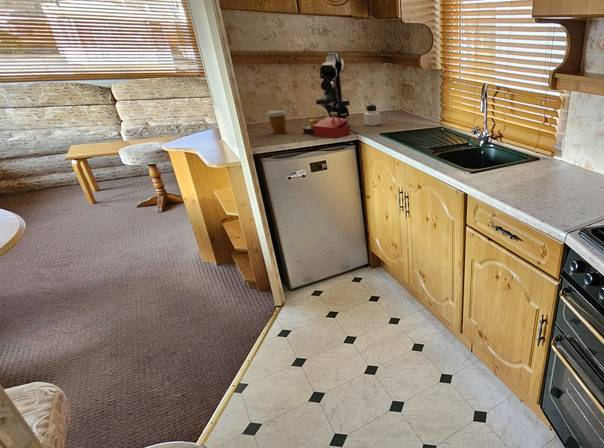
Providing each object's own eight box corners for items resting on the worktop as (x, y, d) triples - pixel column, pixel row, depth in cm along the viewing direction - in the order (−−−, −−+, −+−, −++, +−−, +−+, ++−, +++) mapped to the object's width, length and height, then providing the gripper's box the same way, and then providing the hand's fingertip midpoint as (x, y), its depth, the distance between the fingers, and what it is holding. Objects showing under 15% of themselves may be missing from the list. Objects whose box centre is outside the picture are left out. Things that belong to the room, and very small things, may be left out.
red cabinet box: (329, 131, 236) (327, 123, 234) (350, 133, 231) (348, 125, 229) (314, 135, 225) (312, 127, 223) (335, 138, 221) (334, 129, 219)
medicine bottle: (381, 124, 257) (379, 104, 252) (372, 126, 251) (370, 106, 246) (372, 122, 260) (371, 103, 255) (364, 124, 255) (362, 105, 250)
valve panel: (314, 130, 239) (314, 124, 237) (326, 131, 236) (326, 125, 235) (302, 133, 230) (301, 127, 229) (314, 134, 228) (314, 129, 226)
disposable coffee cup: (292, 131, 235) (288, 110, 230) (283, 134, 226) (279, 113, 221) (276, 130, 235) (272, 109, 230) (267, 134, 227) (262, 112, 222)
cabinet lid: (327, 118, 233) (325, 110, 230) (349, 120, 229) (346, 111, 226) (312, 127, 223) (310, 118, 220) (334, 129, 219) (332, 120, 216)
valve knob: (309, 127, 230) (308, 120, 228) (310, 126, 233) (309, 118, 232) (317, 127, 230) (316, 120, 228) (318, 126, 234) (317, 118, 232)
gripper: (306, 89, 217) (311, 119, 224) (335, 92, 212) (339, 122, 219) (320, 87, 227) (325, 115, 234) (348, 89, 221) (352, 118, 228)
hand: (335, 117), depth 228 cm, fingers closed on cabinet lid, 5 cm apart
